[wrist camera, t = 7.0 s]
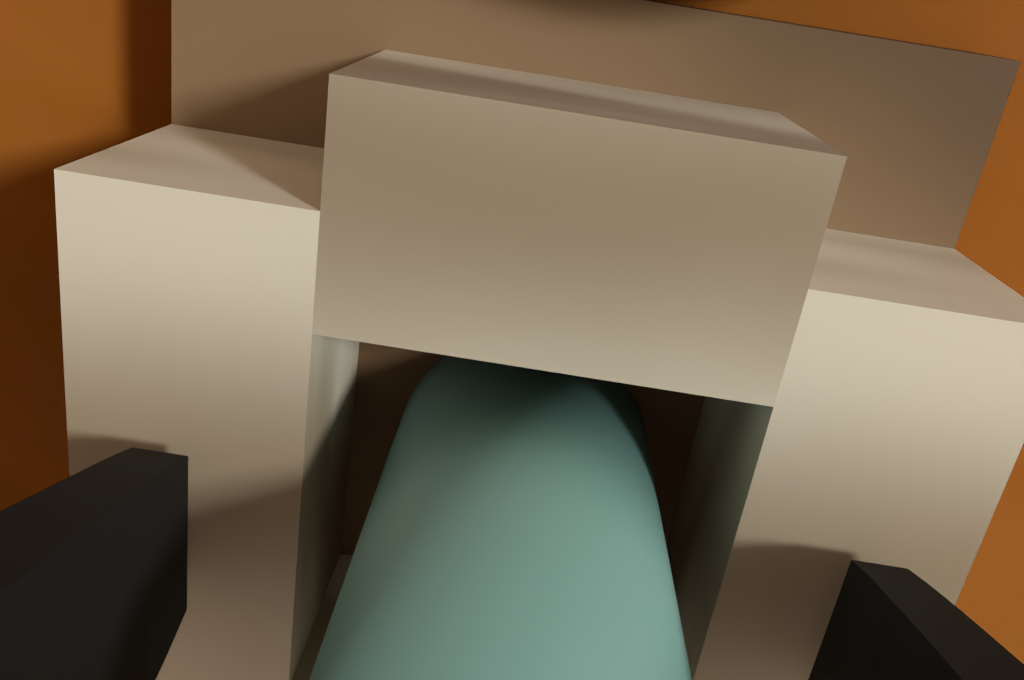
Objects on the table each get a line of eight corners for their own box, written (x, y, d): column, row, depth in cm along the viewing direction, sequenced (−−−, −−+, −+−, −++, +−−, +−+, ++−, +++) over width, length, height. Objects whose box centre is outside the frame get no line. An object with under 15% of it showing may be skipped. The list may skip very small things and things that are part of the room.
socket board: (745, 740, 16) (800, 968, 12) (197, 655, 16) (89, 859, 12) (976, 52, 11) (1172, 90, 8) (209, -72, 11) (40, -93, 8)
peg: (631, 559, 13) (702, 1111, 7) (398, 542, 13) (250, 1072, 7) (659, 342, 12) (778, 773, 6) (400, 325, 12) (216, 731, 6)
